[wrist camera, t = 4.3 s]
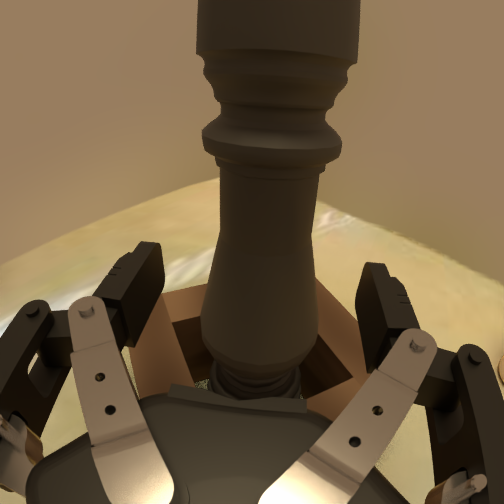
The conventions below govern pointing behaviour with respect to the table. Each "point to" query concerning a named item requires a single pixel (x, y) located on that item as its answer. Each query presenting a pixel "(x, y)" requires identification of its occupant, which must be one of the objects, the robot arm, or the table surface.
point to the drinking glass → (501, 368)
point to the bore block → (200, 359)
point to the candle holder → (269, 180)
